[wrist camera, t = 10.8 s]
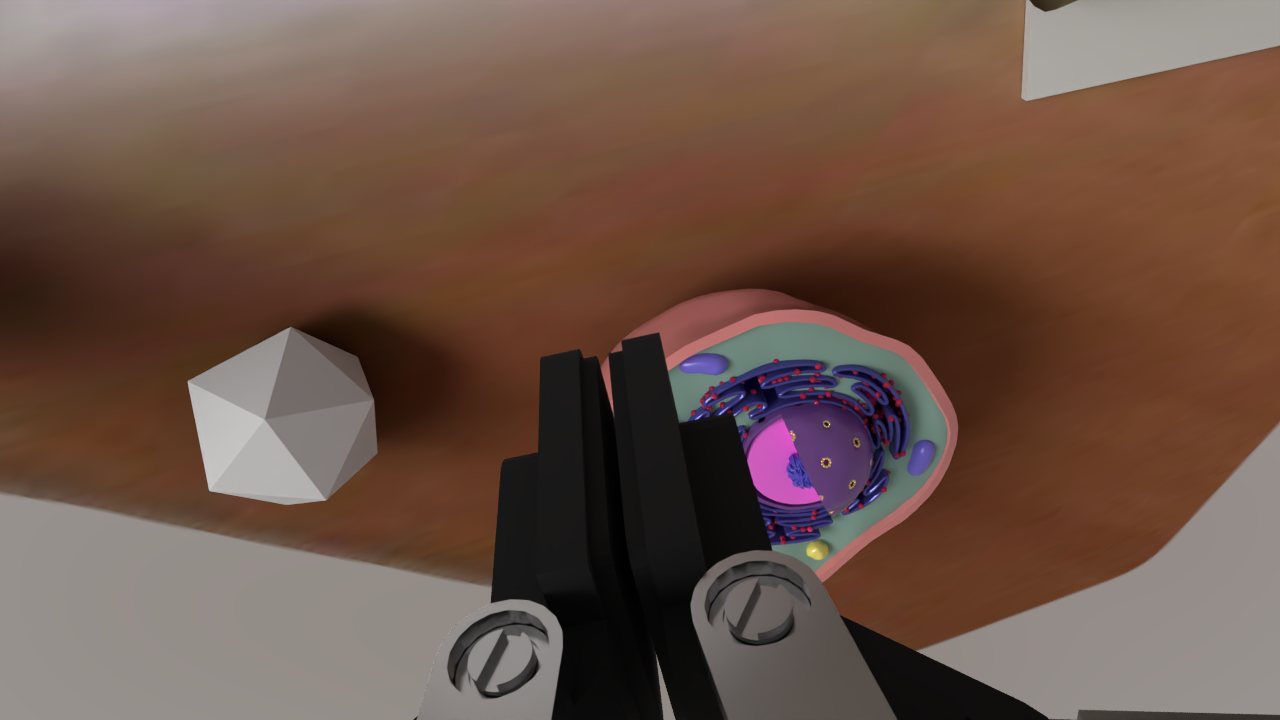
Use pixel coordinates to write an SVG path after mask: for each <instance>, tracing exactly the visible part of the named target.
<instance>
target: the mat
mask: <svg viewBox="0 0 1280 720" xmlns="http://www.w3.org/2000/svg"><path fill="white" fill-rule="evenodd" d="M1275 46H1280V0H1077V1H1075V2H1073V3H1070V4H1068V5H1066V6H1063V7H1061V8H1058V9H1056V10H1052V11H1047V12H1044V11H1042V10H1040V9H1038V8H1036V7H1035V6H1034V5H1033V4H1032V3H1031V2H1030V0H1026V14H1025V34H1024V55H1023V75H1022V96H1021V98H1022V99H1024V100H1025V101H1029V100H1034V99H1038V98H1043V97H1047V96H1052V95H1056V94H1061V93H1066V92H1070V91H1075V90H1079V89H1084V88H1088V87H1093V86H1097V85H1102V84H1107V83H1111V82H1116V81H1120V80H1125V79H1129V78H1134V77H1138V76H1143V75H1148V74H1152V73H1157V72H1161V71H1166V70H1170V69H1175V68H1180V67H1184V66H1189V65H1193V64H1198V63H1202V62H1207V61H1211V60H1216V59H1221V58H1225V57H1230V56H1234V55H1239V54H1243V53H1248V52H1253V51H1257V50H1262V49H1266V48H1271V47H1275Z"/></svg>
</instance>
